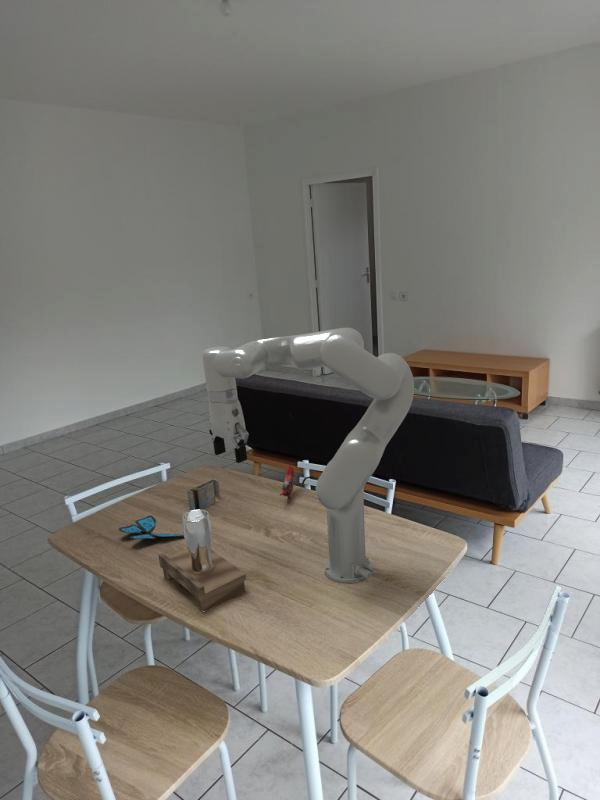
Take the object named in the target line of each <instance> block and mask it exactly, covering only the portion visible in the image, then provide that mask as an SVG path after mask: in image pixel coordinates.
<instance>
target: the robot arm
mask: <svg viewBox="0 0 600 800" xmlns="http://www.w3.org/2000/svg"><path fill="white" fill-rule="evenodd" d="M201 355H202V356H201V357H202V364H203V370H204V372H203V373H204V378H205V379H204V380H205V386H206V392H207V400H208V401H207V402H208V413H209V421H207V422H206V425H207V428H208V430H209V434H210V436H211V441H212V443H213V444H212V445H213V450H214V456H219V455H221V454H224V453H226V452H227V451H226V445H225V440H229V441H232V443H233V445H234V447H235V448H234V449H233V450H234V456H235V457H234V458H235V462H236V463H237V464H241V463H243V462H245V461H247V460H248V454H247V453H248V452H247V448H246V446H248V441H249V435H250V433H249V432H248V431H247V429H246V423H245V422H246V421H245V418H244V413H243V409H242V405H241V402H240V400H239V397H238V390H237V389H238V387H237V384H236V383H237V382H236V379H247V378H249V377H251V376H252V375H254V374H256V373H257V372H258V371H260V370H262V369H266V368H271V367H281V366H291V367H295V368H296V369H297V370H299V371H305V370H313V369H317V368H324V367H326V368H327V369H328V370H329V371H331V372H332V373H334V374H335V375H336V376H337V377H339V378H341V379H342V380H343V381H345V382H346V383H349V384H350V386H352V387H354V388H356V390H358V391H360V392H361V393H362V394H365V395H366V396H368V397H370V398H372V399H373V400H372V401H371V403H370V405H369V406H368V407H367V409H366V411H365V413H364V415H362V417H361V419H360V420H359V421H358V422H357V424H356V426H354V428H353V429H352V430H351V431H350V432H349V433H348V434H347V436H346V437H345V438H344V441H343V442H342V443H341V445H340V447H339V448H338V449H337V451H336V453H335V454H334V456H333V457H332V459H331V460H330V461H329V462H328V463H327V465H326V466H325V467H324V469H323V471H322V473H321V474H320V476H319V477H318V479H317V481H316V484H315V493H316V497H317V500H318V502H319V503H320V505H322V506H323V507H324V508H326V525H327V541H328V559H327V560H326V561H325V563H324V566H323V570H324V571H323V572H324V574H325V575H326V576H327V577H328V578H329V579H330V580H332V581H335V582H338V583H343V584H353V583H358V582H361V581H363V580H365V579H367V581H368V580H372V578H373V574H374V573H375V571H376V567H374V566H373V564H372V562H371V560H370V558H369V557H368V556H366V554H367V553H366V534H365V532H366V530H365V505H364V504H365V503H364V501H365V500H364V499H365V497H364V495H365V485H366V484H367V482H368V481H369V479H370V478H371V477H372V476H373V474H374V473H375V471H376V469H377V467H378V466H379V464H380V461H381V458H382V457H383V454H384V452H385V449H386V447H387V445H388V444H389V442H390V441H391V439H392V438H393V437H394V435H395V434H396V432H397V430H398V428H399V427H400V426H401V424H402V423H403V421H404V419H406V416H407V414H408V413H409V411H410V408H411V406H412V402H413V398H414V394H415V380H414V375H413V373H412V370H411V367H410V366H409V364H408V363H407V361H406V360H405V359H404V358H403V356H401V355H399V354H398V353H393V352H387V353H383V354H380V355H378V356H375V355H374V354H373V353H371V352H369V351H367V350H366V349H365V342H364V338H363V336H362V334H361V333H360V332H359V331H358V330H356V329H354V328H352V327H340V328H339V327H338V328H333V329H328V330H321V331H316V332H309V333H301V334H294V335H287V336H286V335H285V336H276V337H269V338H265V339H257V340H252V341H249V342H247V343H245V344H243V345H240V346H239V347H236V348H233V349H231V348H230V347H228V346H223V345H221V346H213V347H209V348H206V349H204V350H203V352H202V354H201ZM238 440H239V441H238Z"/></svg>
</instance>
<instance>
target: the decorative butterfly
mask: <svg viewBox="0 0 600 800" xmlns="http://www.w3.org/2000/svg"><path fill="white" fill-rule="evenodd" d="M155 523H156V524H155ZM135 524H136V525H135ZM135 524H131V525H128V526H121V527H119V528H118V531H119V532H120V533H121V532H122V533H126V534H137V535H131V536H130V537H129V539H134V540H145V539H147V540H148V539H156V537H161V538H163V537H184V534H179V533H178V534H177V533H152V531H153V530H154V529H155V528H156V525H157V520H156V518H155V517H154V516H153V515H148V516H146V517H143V518H140V519H136V520H135ZM138 534H139V535H138Z"/></svg>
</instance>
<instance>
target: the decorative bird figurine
mask: <svg viewBox="0 0 600 800" xmlns="http://www.w3.org/2000/svg"><path fill="white" fill-rule="evenodd" d="M294 473H295V472H294V467H293V466H292V465H288V467H287V469H286V473H285V477H284V480H283V484H282V487H281V492H280V494H279V496H283V497H287V501H289V500H290V498H291V497H292V493H293V490H294V484H295V477H294Z"/></svg>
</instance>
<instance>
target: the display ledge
mask: <svg viewBox="0 0 600 800" xmlns="http://www.w3.org/2000/svg"><path fill="white" fill-rule="evenodd" d="M157 556H158V561H159V562H158V563H159V567H160V568H162V571H163V572H162V573H163V577H165V578H166V579H165V578H164V579H165V580H167V582H169V581H171V582H173V581H176V582H178V583H179V584H180V585H181V586H182V587H183V588H184V589H186V590H187V591H188V592H189V593H190V594H192V595H193V596H194V597H195V599H196V603H197V604H196V605H197V608H198V607H199V608H198V609H200V610H201V611H202V610H203V611H205V612H207V611H209V610H211V609H214V608H215V607H217V606H219V605H221V604H223V603H225V602H227V601H229V600H231V599H233V598H235V597H238V596H239V595H241V594H243V593H245V592H246V585H245V581H246V580H248V579H247V573H245V572H244V571H242V570H241V569H240V568H238V567H237V566H236V565H234V564H233V563H231V562H230V561H228V560H227V559H226V558H224V557H222V556H221V555H220V554H218V553H217V552H215V551H214V550H213V549H211V557H212V560H213V563H214V568H213V569H212V570H211V571H210V572H208V573H205V574H194V573H192V572H191V570H190V563H191V560H190V554H189V551H188V548H187V549H184V550H183V551H179V552H177V553H175V554H172V555H171V556H167V555H166V554H164V553H163V552H160V553H158V555H157ZM174 579H175V580H174ZM172 580H173V581H172ZM206 610H207V611H206ZM203 611H202V612H203Z"/></svg>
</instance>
